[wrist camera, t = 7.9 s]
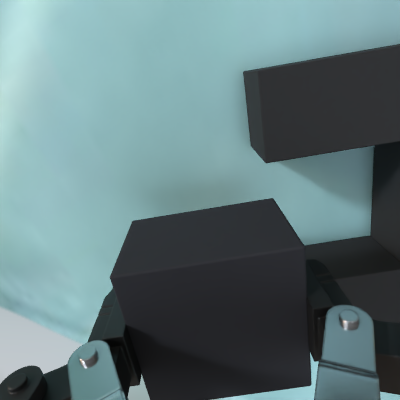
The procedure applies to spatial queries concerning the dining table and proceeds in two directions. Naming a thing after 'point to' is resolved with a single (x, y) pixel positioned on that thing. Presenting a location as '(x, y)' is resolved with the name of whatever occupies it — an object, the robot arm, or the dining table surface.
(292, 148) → the large dark u-shaped block
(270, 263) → the small black block
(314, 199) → the dining table surface
